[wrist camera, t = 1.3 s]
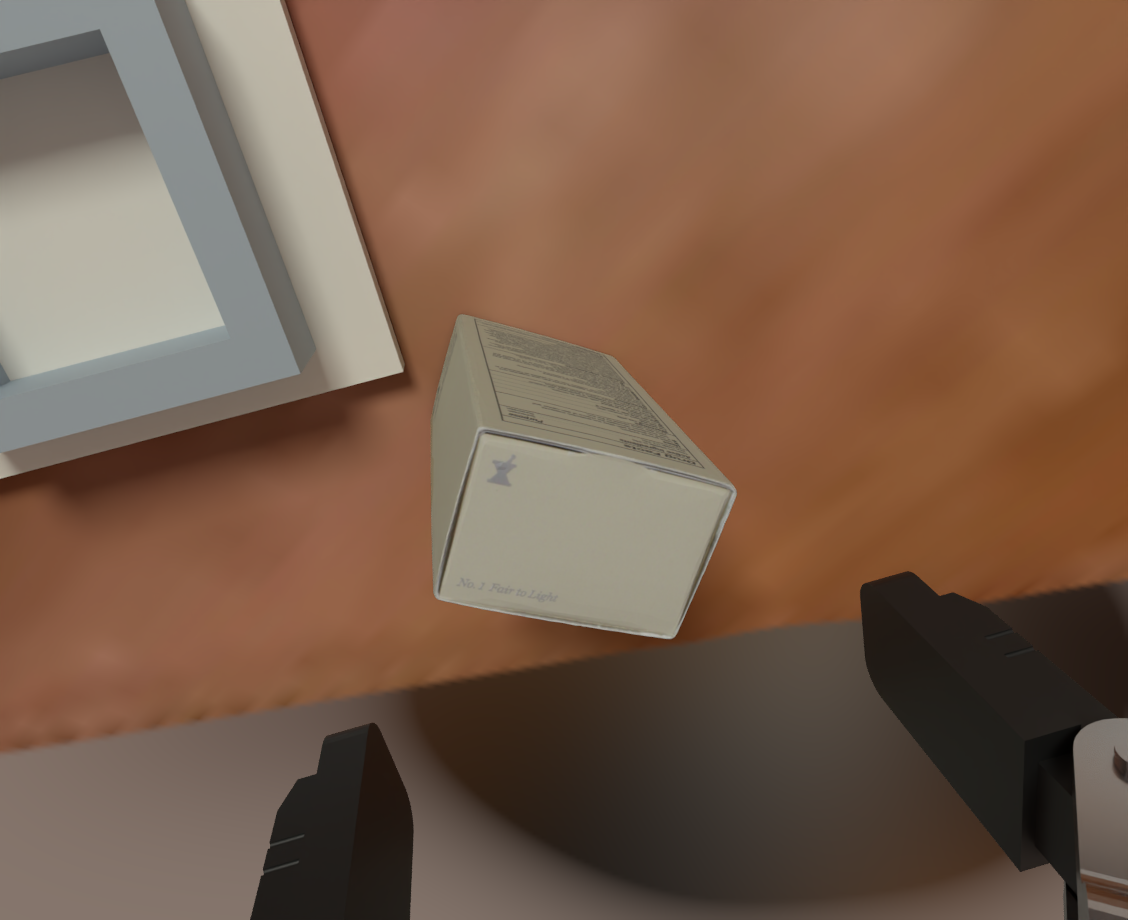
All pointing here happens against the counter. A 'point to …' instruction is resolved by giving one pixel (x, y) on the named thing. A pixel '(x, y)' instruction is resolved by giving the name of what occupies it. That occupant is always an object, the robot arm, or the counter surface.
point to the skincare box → (565, 487)
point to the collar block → (168, 227)
